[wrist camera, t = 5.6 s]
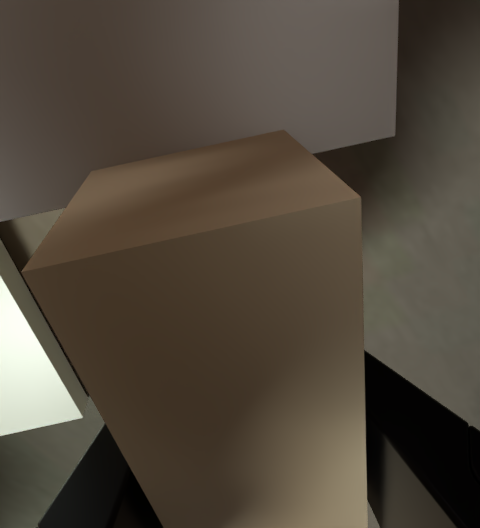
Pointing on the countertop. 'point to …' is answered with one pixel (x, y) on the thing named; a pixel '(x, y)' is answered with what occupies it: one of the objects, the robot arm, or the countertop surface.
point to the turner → (205, 236)
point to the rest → (31, 362)
